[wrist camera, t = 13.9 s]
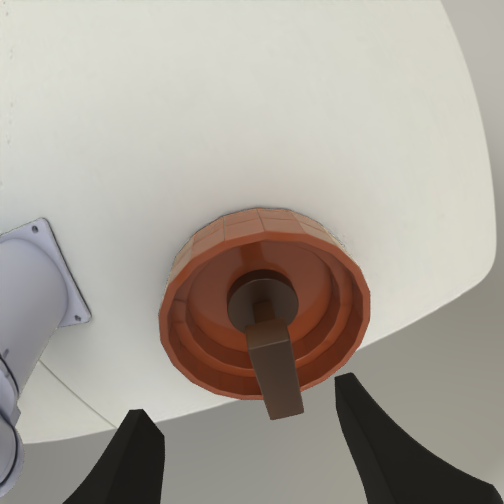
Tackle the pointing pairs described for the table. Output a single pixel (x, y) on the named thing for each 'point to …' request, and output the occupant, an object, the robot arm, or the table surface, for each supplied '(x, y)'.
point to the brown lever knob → (268, 336)
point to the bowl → (249, 259)
